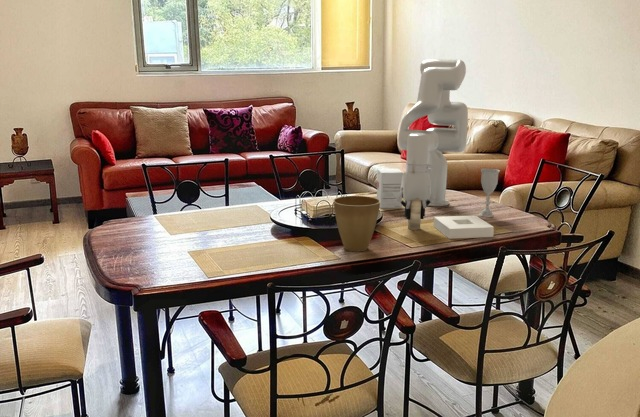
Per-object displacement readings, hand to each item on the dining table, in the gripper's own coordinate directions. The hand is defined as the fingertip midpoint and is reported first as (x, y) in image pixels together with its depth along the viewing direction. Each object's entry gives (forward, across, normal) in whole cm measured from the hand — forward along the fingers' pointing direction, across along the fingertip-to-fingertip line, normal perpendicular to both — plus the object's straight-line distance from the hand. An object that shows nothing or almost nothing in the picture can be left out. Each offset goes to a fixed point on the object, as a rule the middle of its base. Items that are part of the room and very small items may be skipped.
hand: (414, 218), depth 225 cm
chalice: (+4, -34, -14) cm, 37 cm away
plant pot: (+4, +26, +20) cm, 33 cm away
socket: (+4, -16, +6) cm, 18 cm away
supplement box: (+4, 0, -34) cm, 34 cm away
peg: (+4, 0, 0) cm, 4 cm away
